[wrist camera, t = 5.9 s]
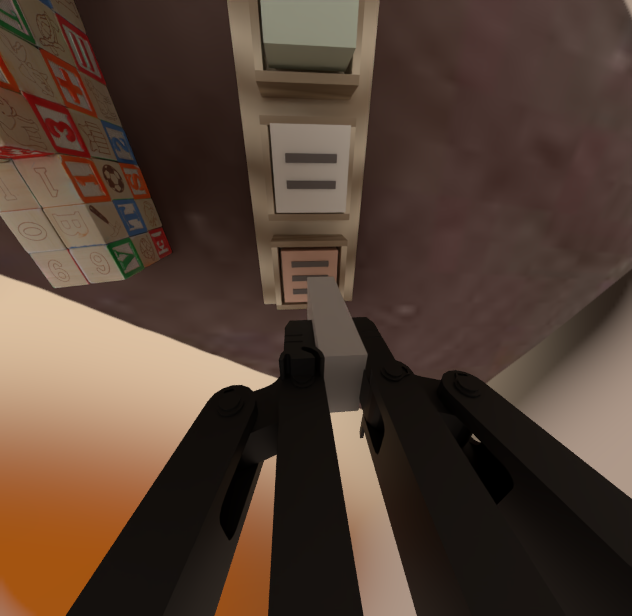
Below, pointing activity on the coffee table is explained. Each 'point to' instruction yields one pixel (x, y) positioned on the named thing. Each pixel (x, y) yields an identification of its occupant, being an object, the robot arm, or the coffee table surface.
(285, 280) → the tile
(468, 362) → the coffee table surface
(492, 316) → the coffee table surface
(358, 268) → the coffee table surface
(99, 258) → the stack of blocks
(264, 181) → the button board
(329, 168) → the tile
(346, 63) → the light grey block
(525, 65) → the coffee table surface
